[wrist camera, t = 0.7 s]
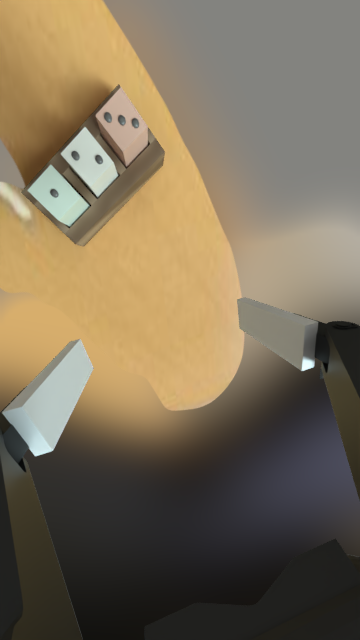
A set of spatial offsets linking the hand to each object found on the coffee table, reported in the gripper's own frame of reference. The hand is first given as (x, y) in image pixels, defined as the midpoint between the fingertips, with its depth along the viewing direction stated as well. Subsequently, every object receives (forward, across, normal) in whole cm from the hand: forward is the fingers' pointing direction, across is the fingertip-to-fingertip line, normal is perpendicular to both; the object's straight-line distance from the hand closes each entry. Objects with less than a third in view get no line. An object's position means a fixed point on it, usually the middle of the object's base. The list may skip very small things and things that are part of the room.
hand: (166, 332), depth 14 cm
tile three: (+25, +2, +25) cm, 35 cm away
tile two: (+24, -4, +21) cm, 33 cm away
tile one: (+25, -11, +18) cm, 32 cm away
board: (+27, -4, +21) cm, 35 cm away
